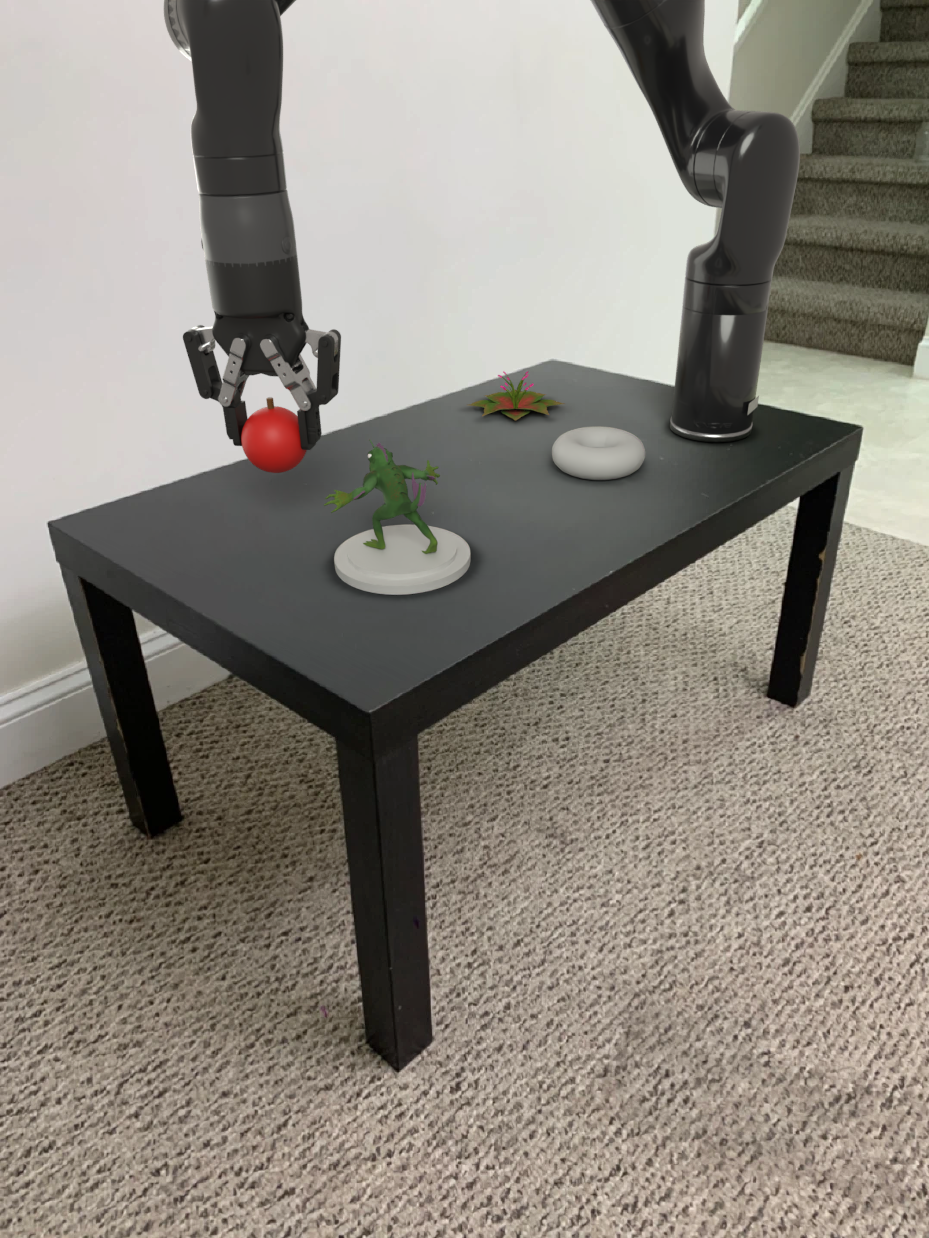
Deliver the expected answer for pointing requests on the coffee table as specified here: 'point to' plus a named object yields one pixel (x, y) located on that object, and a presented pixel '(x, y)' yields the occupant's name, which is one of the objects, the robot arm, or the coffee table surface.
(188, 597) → the coffee table surface
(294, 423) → the apple
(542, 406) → the lily flower
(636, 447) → the donut
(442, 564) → the monster figurine
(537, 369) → the coffee table surface
